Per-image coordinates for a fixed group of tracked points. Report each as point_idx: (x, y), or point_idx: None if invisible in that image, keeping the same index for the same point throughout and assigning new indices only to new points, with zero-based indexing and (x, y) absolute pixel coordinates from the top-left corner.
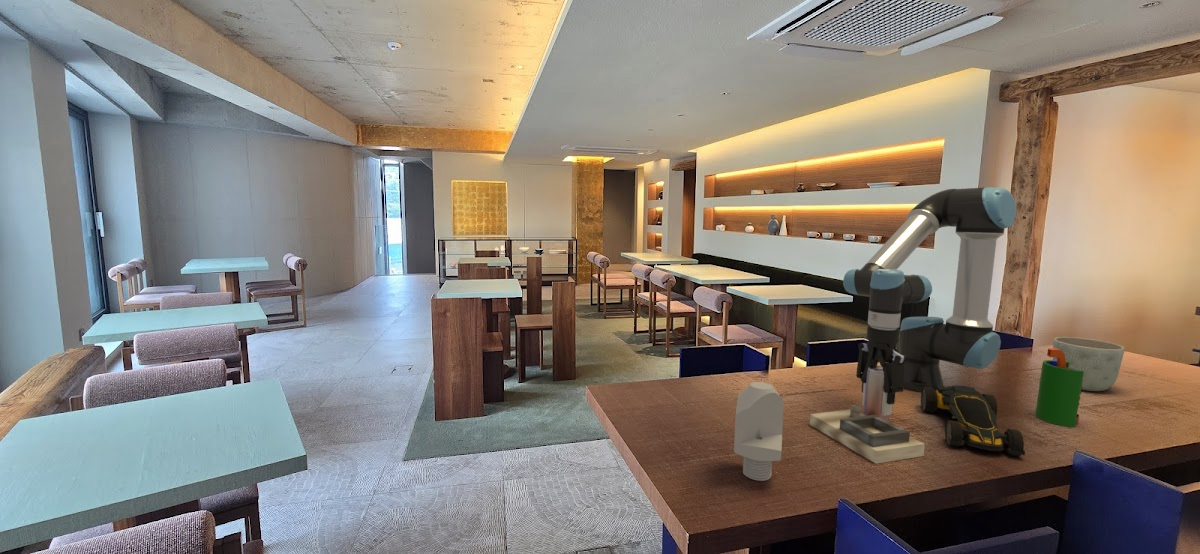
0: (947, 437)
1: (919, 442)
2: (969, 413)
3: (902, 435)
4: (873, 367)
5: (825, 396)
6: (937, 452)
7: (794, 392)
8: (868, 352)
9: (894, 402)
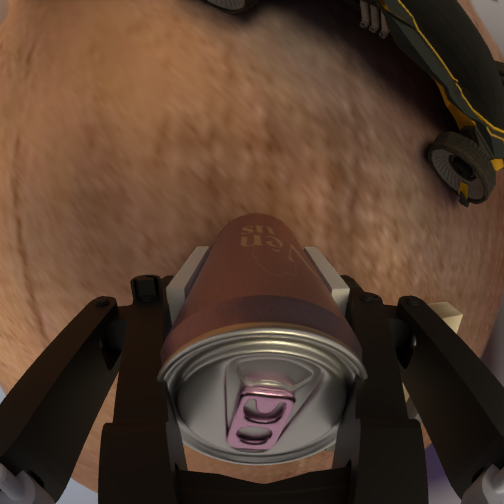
0: (433, 157)
1: (454, 320)
2: (481, 82)
3: None
4: (200, 424)
5: (46, 247)
6: (452, 253)
7: (30, 308)
8: (20, 448)
9: (352, 278)
